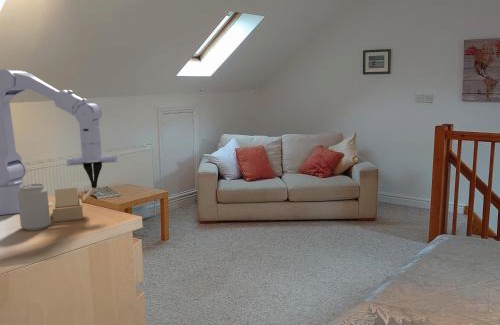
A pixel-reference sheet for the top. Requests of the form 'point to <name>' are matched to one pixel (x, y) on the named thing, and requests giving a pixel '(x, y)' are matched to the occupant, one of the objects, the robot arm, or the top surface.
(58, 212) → the carton
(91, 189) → the side flap
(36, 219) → the can
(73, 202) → the long flap
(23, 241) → the top surface
